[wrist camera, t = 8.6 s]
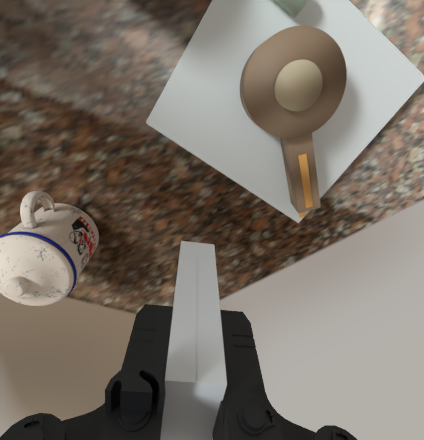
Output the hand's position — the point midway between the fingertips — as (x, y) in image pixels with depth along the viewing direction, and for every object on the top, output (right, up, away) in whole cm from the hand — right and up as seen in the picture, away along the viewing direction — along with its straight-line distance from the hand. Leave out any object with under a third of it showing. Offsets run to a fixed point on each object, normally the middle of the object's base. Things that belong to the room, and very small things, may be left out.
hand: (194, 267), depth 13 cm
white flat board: (+8, +15, +18) cm, 25 cm away
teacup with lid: (-18, +2, +23) cm, 30 cm away
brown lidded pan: (+9, +12, +17) cm, 23 cm away
